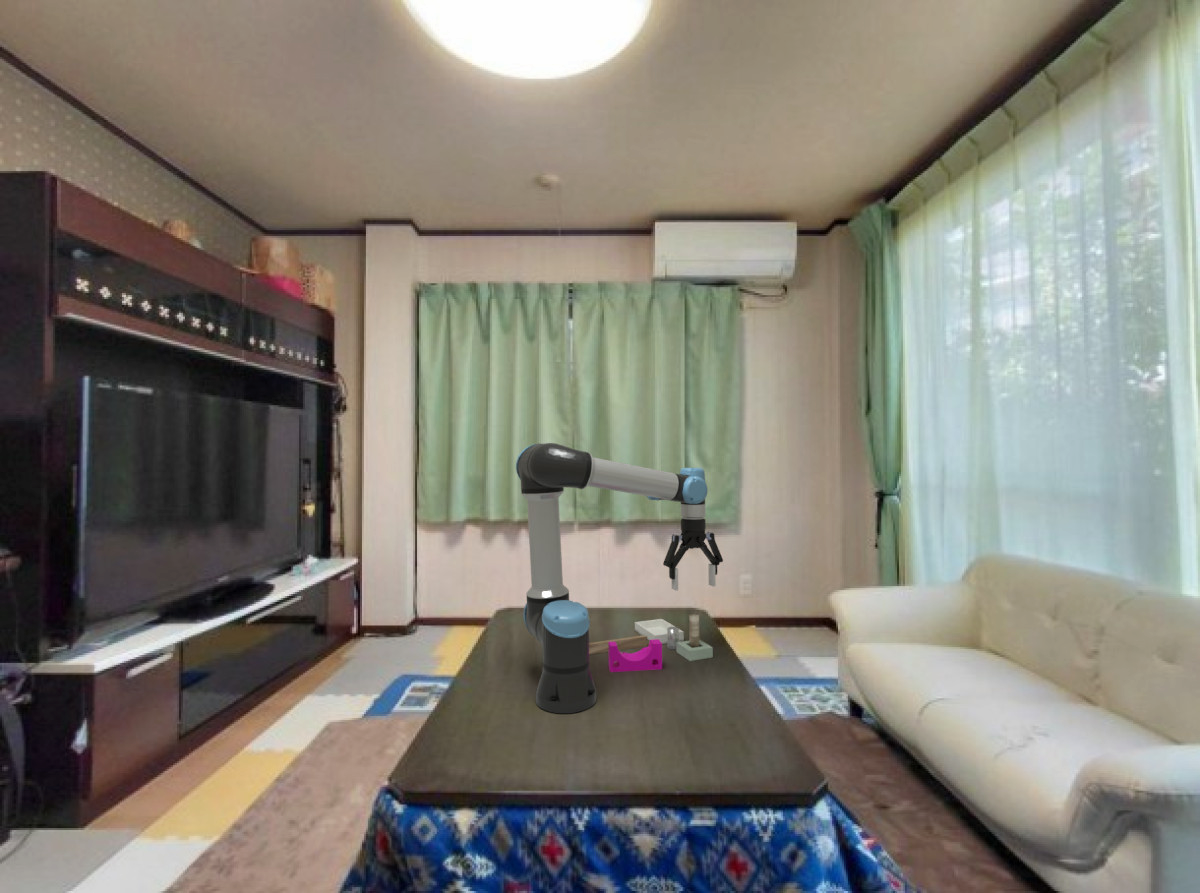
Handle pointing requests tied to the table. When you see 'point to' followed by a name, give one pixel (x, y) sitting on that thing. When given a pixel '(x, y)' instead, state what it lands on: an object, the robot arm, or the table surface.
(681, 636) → the tray
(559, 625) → the robot arm
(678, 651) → the socket
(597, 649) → the brown wooden bar
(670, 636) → the cylinder
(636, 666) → the toy block
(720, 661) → the table surface
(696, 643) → the dowel
